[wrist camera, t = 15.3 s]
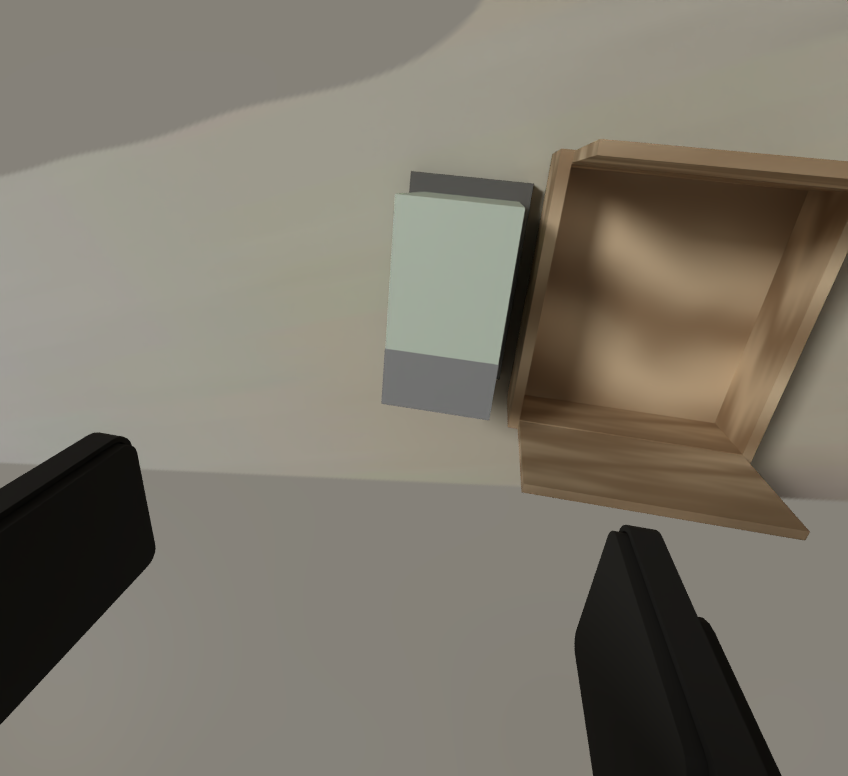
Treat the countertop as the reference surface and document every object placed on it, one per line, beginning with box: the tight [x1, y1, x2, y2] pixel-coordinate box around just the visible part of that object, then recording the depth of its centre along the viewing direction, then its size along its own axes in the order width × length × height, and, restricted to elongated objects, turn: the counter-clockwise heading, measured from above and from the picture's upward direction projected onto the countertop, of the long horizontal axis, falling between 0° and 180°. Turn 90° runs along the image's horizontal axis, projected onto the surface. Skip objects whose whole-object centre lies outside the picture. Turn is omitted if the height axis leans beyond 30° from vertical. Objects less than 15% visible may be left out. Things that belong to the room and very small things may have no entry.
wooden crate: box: [507, 139, 848, 540], centre depth 24 cm, size 15×14×11 cm
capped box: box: [382, 192, 525, 420], centre depth 25 cm, size 10×6×8 cm, turn 175°
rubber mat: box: [409, 171, 534, 379], centre depth 29 cm, size 12×7×1 cm, turn 175°
